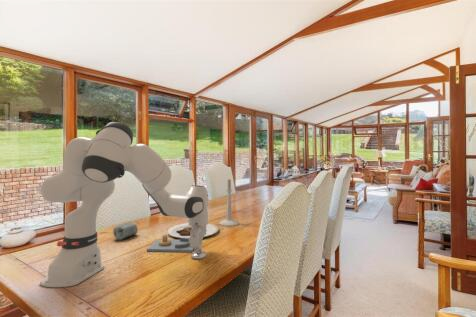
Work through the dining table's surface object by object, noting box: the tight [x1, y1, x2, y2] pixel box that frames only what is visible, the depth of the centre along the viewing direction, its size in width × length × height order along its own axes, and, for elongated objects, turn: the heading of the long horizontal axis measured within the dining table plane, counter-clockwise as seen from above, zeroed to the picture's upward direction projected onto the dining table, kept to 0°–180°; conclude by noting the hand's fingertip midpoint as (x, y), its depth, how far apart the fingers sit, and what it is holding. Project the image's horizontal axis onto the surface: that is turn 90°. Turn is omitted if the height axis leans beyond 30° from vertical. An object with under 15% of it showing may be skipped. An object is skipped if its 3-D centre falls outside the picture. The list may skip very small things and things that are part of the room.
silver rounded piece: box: [190, 243, 207, 261], centre depth 120 cm, size 7×7×6 cm
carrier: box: [146, 233, 195, 253], centre depth 133 cm, size 14×22×6 cm, turn 88°
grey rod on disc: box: [219, 178, 240, 227], centre depth 174 cm, size 13×13×30 cm
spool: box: [112, 221, 138, 241], centre depth 147 cm, size 14×10×10 cm
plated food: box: [167, 222, 219, 239], centre depth 157 cm, size 30×30×3 cm
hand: (198, 250), depth 120 cm, fingers open, 4 cm apart
